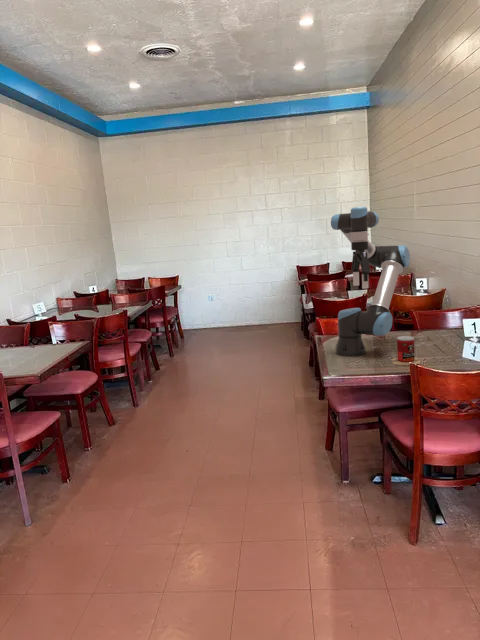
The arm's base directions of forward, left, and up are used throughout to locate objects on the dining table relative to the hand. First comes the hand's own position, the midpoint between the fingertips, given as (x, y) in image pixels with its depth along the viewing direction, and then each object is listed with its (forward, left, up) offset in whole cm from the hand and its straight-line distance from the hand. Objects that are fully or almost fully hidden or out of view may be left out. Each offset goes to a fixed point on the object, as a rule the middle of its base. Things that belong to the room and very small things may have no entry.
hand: (360, 287), depth 224 cm
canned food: (+6, +19, -36) cm, 41 cm away
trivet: (+6, +19, -37) cm, 42 cm away
